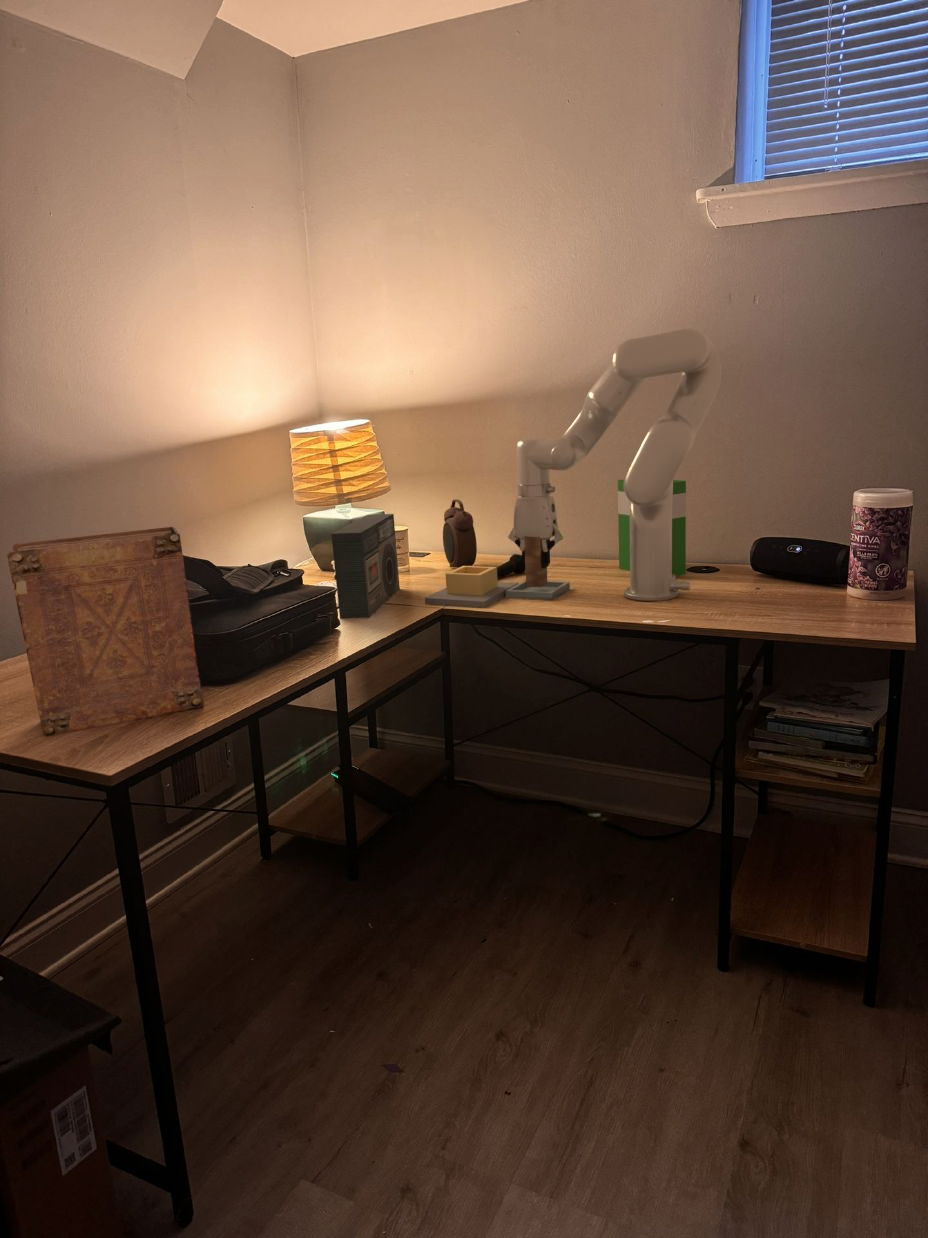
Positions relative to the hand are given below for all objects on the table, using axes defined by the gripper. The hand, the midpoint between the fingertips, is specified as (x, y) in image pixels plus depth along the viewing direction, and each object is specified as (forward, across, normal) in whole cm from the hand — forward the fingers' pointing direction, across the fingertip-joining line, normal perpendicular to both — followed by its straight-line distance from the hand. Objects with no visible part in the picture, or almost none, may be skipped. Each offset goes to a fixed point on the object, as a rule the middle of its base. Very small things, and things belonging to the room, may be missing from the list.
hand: (536, 565), depth 210 cm
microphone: (+8, +18, -15) cm, 25 cm away
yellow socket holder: (+7, +15, +6) cm, 17 cm away
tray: (+7, 0, 0) cm, 7 cm away
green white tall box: (+7, -20, -30) cm, 37 cm away
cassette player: (+8, +37, +18) cm, 42 cm away
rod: (+5, 0, 0) cm, 5 cm away
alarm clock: (+7, +33, -22) cm, 40 cm away
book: (+8, +36, +96) cm, 103 cm away
